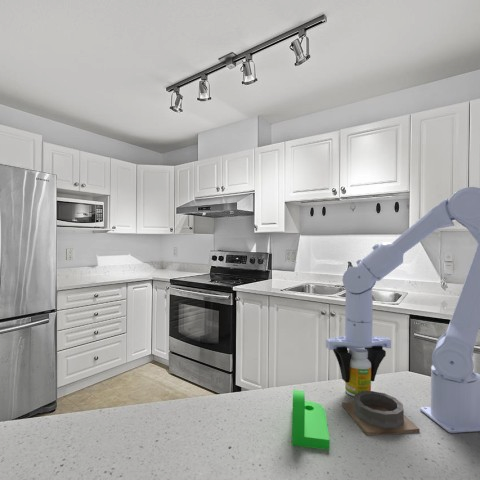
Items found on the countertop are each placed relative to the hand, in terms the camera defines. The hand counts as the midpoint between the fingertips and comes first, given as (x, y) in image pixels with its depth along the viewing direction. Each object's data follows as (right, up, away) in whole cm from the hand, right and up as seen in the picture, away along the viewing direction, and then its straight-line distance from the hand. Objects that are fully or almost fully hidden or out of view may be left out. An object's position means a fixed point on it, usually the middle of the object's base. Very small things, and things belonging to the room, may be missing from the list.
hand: (358, 379), depth 71 cm
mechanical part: (-14, -3, -13) cm, 19 cm away
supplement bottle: (0, -3, 0) cm, 3 cm away
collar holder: (0, -3, -10) cm, 10 cm away
